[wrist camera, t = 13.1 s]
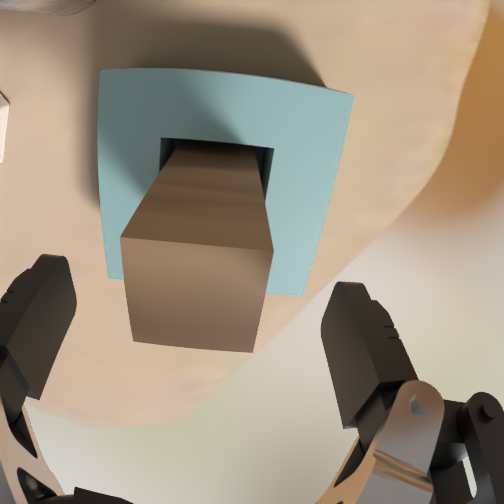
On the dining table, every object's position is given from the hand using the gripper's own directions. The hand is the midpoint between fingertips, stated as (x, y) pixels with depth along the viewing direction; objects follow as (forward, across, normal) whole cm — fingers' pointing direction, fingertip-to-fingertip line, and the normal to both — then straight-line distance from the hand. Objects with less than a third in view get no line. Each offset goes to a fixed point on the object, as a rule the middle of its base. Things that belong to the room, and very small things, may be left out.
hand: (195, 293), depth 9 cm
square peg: (+12, 0, 0) cm, 12 cm away
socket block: (+13, 0, 0) cm, 13 cm away
